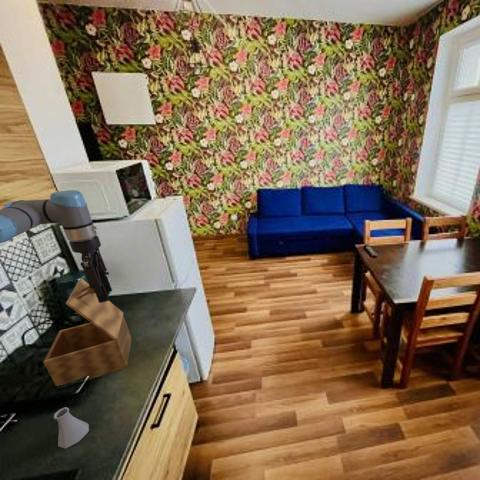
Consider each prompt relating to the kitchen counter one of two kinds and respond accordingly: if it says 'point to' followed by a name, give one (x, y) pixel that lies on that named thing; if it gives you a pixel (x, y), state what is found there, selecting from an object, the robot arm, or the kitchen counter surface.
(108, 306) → the knobbed wooden cover
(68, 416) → the flask
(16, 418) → the kitchen counter surface
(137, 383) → the kitchen counter surface
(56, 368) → the chest
